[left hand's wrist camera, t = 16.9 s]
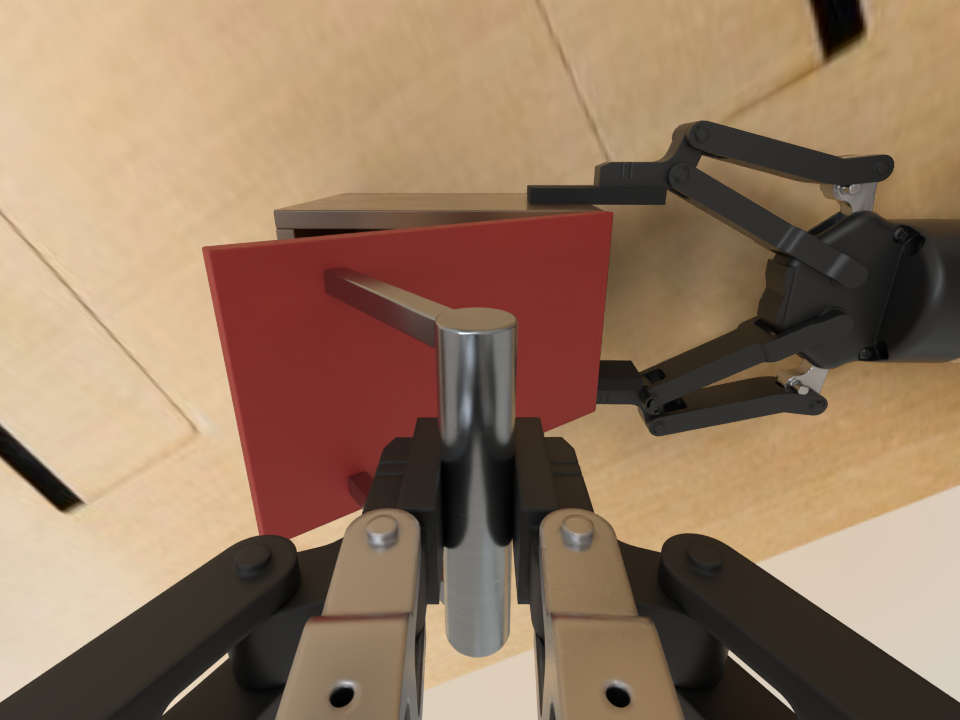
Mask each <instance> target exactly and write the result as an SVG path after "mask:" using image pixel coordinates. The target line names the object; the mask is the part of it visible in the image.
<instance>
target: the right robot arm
mask: <svg viewBox="0 0 960 720" xmlns="http://www.w3.org/2000/svg"><path fill="white" fill-rule="evenodd" d="M702 155H703V156H706V157H710V158H714V159H718V160H721V161H725V162H729V163H732V164H736V165H740V166H743V167H747V168H751V169H755V170H758V171H762V172H766V173H769V174H773V175H777V176H781V177H784V178H788V179H792V180H795V181H800V182H806V183H818V184H821V186H820V190H821V191H822V193H823V195H824V196H825V197H826V198H828V199H832V200H836V201H837V202H838V203H839V204H840V207H841V211H840V212H838V213H836V214H834V215H833V216H831V217H829V218H828V219H826V220H825V221H823V222H821V223H820V224H818V225H817V226H815V227H813V228H812V229H810V230H809V231H807V232H806V231H804V230H802V229H799V228H797V227H795V226H793V225H791V224H789V223H787V222H786V221H784V220H782V219H781V218H779V217H777V216H776V215H774V214H772V213H771V212H769V211H767V210H766V209H764V208H762V207H761V206H759V205H757V204H756V203H754V202H752V201H751V200H749V199H747V198H745V197H744V196H742V195H740V194H739V193H737V192H735V191H734V190H732V189H730V188H729V187H727V186H725V185H724V184H722V183H720V182H719V181H717V180H715V179H714V178H712V177H710V176H709V175H707V174H705V173H704V172H702V171H700V170H698V169H697V168H696V166H697V164H698V162H699V160H700V158H701V156H702ZM893 169H894V161H893V159H892V157H890V156H888V155H845V156H833V155H829V154H826V153H822V152H818V151H815V150H811V149H808V148H804V147H800V146H797V145H793V144H789V143H786V142H782V141H778V140H775V139H771V138H768V137H764V136H760V135H757V134H753V133H749V132H746V131H742V130H738V129H735V128H731V127H727V126H724V125H720V124H717V123H713V122H709V121H697V122H692V123H686V124H682V125H680V126H678V127H677V128H676V129H675V131H674V132H673V136H672V143H671V145H670V147H669V149H668V151H667V153H666V155H665V156H664V157H663V158H661V159H660V160H658V161H656V162H604V163H602V164H600V165H597V166H595V175H594V185H527V200H528V202H529V203H530V204H591V205H665V200H666V192H667V190H668V191H670V192H672V193H673V194H675V195H677V196H679V197H680V198H682V199H684V200H686V201H687V202H689V203H691V204H692V205H694V206H696V207H698V208H699V209H701V210H703V211H704V212H706V213H708V214H710V215H711V216H713V217H715V218H716V219H718V220H720V221H722V222H723V223H725V224H727V225H728V226H730V227H732V228H734V229H735V230H737V231H739V232H740V233H742V234H744V235H746V236H747V237H749V238H751V239H752V240H754V241H755V242H756V243H757V244H759V245H761V246H763V247H764V248H766V249H768V250H769V251H771V252H773V253H775V254H776V255H775V256H774V258H773V259H768V263H767V268H766V273H765V275H766V289H765V291H764V293H763V295H762V297H761V299H760V302H759V307H758V312H757V314H758V316H756V317H754V318H752V319H749V320H747V321H745V322H743V323H741V324H740V325H739V326H738V328H737V329H736V330H734V331H732V332H730V333H727V334H725V335H723V336H721V337H718V338H716V339H714V340H712V341H709V342H707V343H705V344H702V345H700V346H698V347H696V348H693V349H691V350H689V351H687V352H684V353H682V354H680V355H678V356H675V357H673V358H671V359H668V360H666V361H664V362H662V363H659V364H657V365H655V366H653V367H650V368H648V369H646V370H644V371H641V372H638V370H637V369H636V367H635V366H634V364H633V363H632V361H624V360H600V365H599V376H598V387H597V398H596V404H632V405H636V406H638V411H639V414H640V415H641V417H642V419H643V421H644V423H645V424H646V426H647V428H648V430H649V431H650V433H651V434H652V435H654V436H663V435H669V434H674V433H679V432H684V431H689V430H694V429H700V428H705V427H710V426H715V425H720V424H725V423H730V422H736V421H741V420H746V419H751V418H756V417H761V416H767V415H772V414H777V413H782V412H786V413H795V414H805V415H819V414H821V413H823V412H824V411H825V410H826V408H827V405H828V402H827V400H826V399H825V398H824V397H823V396H821V395H820V391H821V388H822V386H823V383H824V381H825V378H826V376H827V373H828V370H829V369H833V368H837V367H839V366H841V365H843V364H846V363H849V362H853V361H867V362H904V363H941V362H953V363H960V220H955V219H885V218H883V217H881V216H880V215H878V214H877V213H875V212H872V210H873V204H874V198H875V192H876V186H877V182H880V181H883V180H885V179H886V178H888V177H889V176H890V174H891V173H892V171H893ZM771 334H772V335H771ZM793 354H797V355H799V356H800V357H801V358H802V359H803V362H802V363H801V365H800V366H798V367H797V368H795V369H790V370H786V371H785V370H780V371H778V372H777V377H773V376H766V377H756V378H751V379H746V380H741V381H736V382H731V383H726V384H721V385H716V386H711V387H706V388H703V387H705V386H708V385H710V384H712V383H715V382H717V381H719V380H722V379H724V378H726V377H729V376H731V375H733V374H736V373H738V372H741V371H743V370H745V369H748V368H750V367H752V366H755V365H757V364H759V363H762V362H776V361H779V360H782V359H784V358H786V357H789V356H791V355H793ZM700 388H701V389H700Z"/></svg>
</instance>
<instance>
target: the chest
mask: <svg viewBox="0 0 960 720" xmlns="http://www.w3.org/2000/svg"><path fill="white" fill-rule="evenodd" d="M592 211H603V210H601V209H599V208H597V207H595V206H593V205H591V204H530V203H529V202H528V200H527V194H340V195H336V196H332V197H328V198H323V199H319V200H315V201H311V202H307V203H302V204H298V205H294V206H290V207H286V208H281V209H277V210H274V217H275V224H276V228H277V229H276V232H277V239H278V240H283V239H294V238H305V237H316V236H327V235H338V234H349V233H360V232H371V231H382V230H393V229H404V228H415V227H426V226H437V225H448V224H459V223H470V222H481V221H492V220H503V219H514V218H526V217H537V216H548V215H559V214H570V213H581V212H592Z"/></svg>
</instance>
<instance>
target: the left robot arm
mask: <svg viewBox="0 0 960 720" xmlns="http://www.w3.org/2000/svg"><path fill="white" fill-rule="evenodd" d="M512 539H513V552H514V564H515V576H516V588H517V600H518V604H530V610H531V620H532V624H533V627H534V653H535V672H536V690H537V709H538V720H960V703H959V702H958V701H957V700H955V699H954V698H952V697H951V696H949V695H948V694H946V693H945V692H943V691H942V690H940V689H939V688H937V687H936V686H934V685H933V684H931V683H930V682H929V681H927V680H926V679H924V678H923V677H921V676H920V675H918V674H917V673H915V672H914V671H912V670H911V669H909V668H908V667H906V666H905V665H903V664H902V663H900V662H899V661H898V660H896V659H895V658H893V657H892V656H890V655H889V654H887V653H886V652H884V651H883V650H881V649H880V648H878V647H877V646H875V645H874V644H872V643H871V642H870V641H868V640H867V639H865V638H864V637H862V636H861V635H859V634H858V633H856V632H855V631H853V630H852V629H850V628H849V627H847V626H846V625H844V624H843V623H841V622H840V621H839V620H837V619H836V618H834V617H833V616H831V615H830V614H828V613H827V612H825V611H824V610H822V609H821V608H819V607H818V606H816V605H815V604H813V603H812V602H810V601H809V600H808V599H806V598H805V597H803V596H802V595H800V594H799V593H797V592H796V591H794V590H793V589H791V588H790V587H788V586H787V585H785V584H784V583H782V582H781V581H779V580H778V579H777V578H775V577H774V576H772V575H771V574H769V573H768V572H766V571H765V570H763V569H762V568H760V567H759V566H757V565H756V564H754V563H753V562H751V561H750V560H749V559H747V558H746V557H744V556H743V555H741V554H740V553H738V552H737V551H735V550H734V549H732V548H731V547H729V546H728V545H726V544H724V543H723V542H721V541H719V540H716V539H714V538H711V537H708V536H705V535H700V534H691V533H686V534H679V535H675V536H672V537H670V538H669V539H667V540H666V542H665V543H664V544H663V546H662V551H661V553H660V552H656V551H652V550H648V549H644V548H639V547H635V546H632V545H629V544H626V543H623V542H621V541H619V540H617V538H616V534H615V532H614V529H613V528H612V526H611V525H610V524H609V523H608V522H607V521H606V520H605V519H604V518H602V517H601V516H599V515H597V514H595V513H594V510H593V507H592V504H591V501H590V498H589V494H588V491H587V488H586V485H585V482H584V479H583V476H582V472H581V469H580V466H579V465H578V460H577V456H576V453H575V450H574V448H573V447H572V446H571V445H570V444H569V443H567V442H566V441H565V440H564V439H563V438H562V437H544V433H543V428H542V424H541V420H540V417H515V454H514V492H513V529H512ZM443 553H444V527H443V497H442V467H441V458H440V456H439V439H438V417H418V418H417V421H416V425H415V430H414V434H413V437H395V438H394V439H393V440H392V441H391V442H390V443H389V444H388V445H387V446H386V447H385V448H383V451H382V454H381V457H380V460H379V465H378V466H377V469H376V472H375V476H374V479H373V482H372V485H371V488H370V491H369V494H368V497H367V500H366V503H365V506H364V509H363V512H362V515H361V516H359V517H358V518H356V519H355V520H354V521H353V522H352V523H351V524H350V525H349V526H348V528H347V529H346V531H345V534H344V537H343V538H341V539H339V540H337V541H335V542H333V543H331V544H328V545H325V546H321V547H318V548H313V549H309V550H305V551H301V552H297V550H296V547H295V545H294V544H293V542H292V541H290V540H289V539H287V538H285V537H283V536H279V535H260V536H255V537H251V538H248V539H245V540H242V541H240V542H238V543H236V544H234V545H233V546H231V547H229V548H228V549H226V550H225V551H223V552H222V553H220V554H219V555H217V556H216V557H214V558H213V559H211V560H210V561H209V562H207V563H206V564H204V565H203V566H201V567H200V568H198V569H197V570H195V571H194V572H192V573H191V574H189V575H188V576H186V577H185V578H183V579H182V580H180V581H179V582H178V583H176V584H175V585H173V586H172V587H170V588H169V589H167V590H166V591H164V592H163V593H161V594H160V595H158V596H157V597H155V598H154V599H152V600H151V601H149V602H148V603H147V604H145V605H144V606H142V607H141V608H139V609H138V610H136V611H135V612H133V613H132V614H130V615H129V616H127V617H126V618H124V619H123V620H121V621H120V622H119V623H117V624H116V625H114V626H113V627H111V628H110V629H108V630H107V631H105V632H104V633H102V634H101V635H99V636H98V637H96V638H95V639H93V640H92V641H90V642H89V643H88V644H86V645H85V646H83V647H82V648H80V649H79V650H77V651H76V652H74V653H73V654H71V655H70V656H68V657H67V658H65V659H64V660H62V661H61V662H59V663H58V664H57V665H55V666H54V667H52V668H51V669H49V670H48V671H46V672H45V673H43V674H42V675H40V676H39V677H37V678H36V679H34V680H33V681H31V682H30V683H29V684H27V685H26V686H24V687H23V688H21V689H20V690H18V691H17V692H15V693H14V694H12V695H11V696H9V697H8V698H6V699H5V700H3V701H2V702H0V720H422V708H423V690H424V671H425V653H426V625H425V615H426V607H427V604H439V598H440V587H441V576H442V565H443ZM729 650H730V651H731V652H733V653H734V654H735V655H736V656H737V657H738V658H740V659H741V660H742V661H743V662H744V663H745V664H747V665H748V666H749V667H750V668H751V669H752V670H754V671H755V672H756V673H757V674H758V675H759V676H761V677H762V678H763V679H764V680H765V681H766V682H768V683H769V684H770V685H771V686H772V687H773V688H775V689H776V690H777V691H778V692H779V693H780V694H781V695H782V696H783V697H784V698H785V699H786V700H787V701H788V703H789V704H790V705H791V707H792V708H793V710H794V712H795V713H794V712H793V711H792V710H790V709H789V708H788V707H787V706H786V705H785V704H784V703H782V702H781V701H780V700H779V699H778V698H777V697H775V696H774V695H773V694H772V693H771V692H770V691H769V690H767V689H766V688H765V687H764V686H763V685H762V684H760V683H759V682H758V681H757V680H756V679H755V678H754V677H752V676H751V675H750V674H749V673H748V672H747V671H745V670H744V669H743V668H742V667H741V666H740V665H739V664H737V663H736V662H735V661H734V660H733V659H732V658H731V657H729V656H728V651H729ZM227 652H228V655H229V658H228V659H227V660H226V661H225V662H224V663H223V664H221V665H220V666H219V667H218V668H217V669H216V670H214V671H213V672H212V673H211V674H210V675H209V676H208V677H206V678H205V679H204V680H203V681H202V682H201V683H200V684H198V685H197V686H196V687H195V688H194V689H193V690H191V691H190V692H189V693H188V694H187V695H186V696H185V697H183V698H182V699H181V700H180V701H179V702H178V703H176V704H175V705H174V706H173V707H172V708H171V709H170V710H168V711H167V712H166V713H165V714H164V715H163V713H164V711H165V710H166V708H167V707H168V705H169V704H170V703H171V702H172V700H173V699H174V698H175V697H176V696H177V695H178V694H180V693H181V692H182V691H183V690H184V689H185V688H187V687H188V686H189V685H190V684H191V683H192V682H194V681H195V680H196V679H197V678H198V677H199V676H201V675H202V674H203V673H204V672H205V671H206V670H208V669H209V668H210V667H211V666H212V665H213V664H215V663H216V662H217V661H218V660H219V659H220V658H222V657H223V656H224V655H225V654H226V653H227ZM162 715H163V716H162Z"/></svg>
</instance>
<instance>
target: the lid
mask: <svg viewBox="0 0 960 720" xmlns="http://www.w3.org/2000/svg"><path fill="white" fill-rule="evenodd" d="M612 222H613V212H605V211H592V212H581V213H570V214H559V215H548V216H537V217H526V218H514V219H503V220H492V221H481V222H470V223H459V224H448V225H437V226H426V227H415V228H404V229H393V230H382V231H371V232H360V233H349V234H338V235H327V236H316V237H305V238H294V239H283V240H272V241H261V242H250V243H239V244H228V245H217V246H206V247H202V251H203V256H204V261H205V266H206V271H207V276H208V281H209V286H210V291H211V296H212V301H213V306H214V311H215V316H216V321H217V326H218V331H219V336H220V341H221V346H222V351H223V356H224V361H225V366H226V371H227V376H228V381H229V386H230V391H231V396H232V401H233V406H234V411H235V416H236V421H237V426H238V431H239V436H240V441H241V446H242V451H243V456H244V461H245V466H246V471H247V476H248V481H249V486H250V491H251V496H252V501H253V506H254V511H255V516H256V521H257V526H258V531H259V535H279V536H283V537H285V538H287V539H291V538H293V537H296V536H298V535H301V534H303V533H305V532H308V531H310V530H313V529H315V528H317V527H320V526H322V525H324V524H327V523H329V522H332V521H334V520H336V519H339V518H341V517H344V516H346V515H348V514H351V513H353V512H355V511H358V510H360V509H364V506H365V503H366V500H367V497H368V494H369V491H370V488H371V485H372V482H373V479H374V476H375V472H376V469H377V466H378V465H379V460H380V457H381V454H382V451H383V448H385V447H386V446H387V445H388V444H389V443H390V442H391V441H392V440H393V439H394V438H395V437H413V434H414V430H415V425H416V421H417V418H418V417H438V439H439V456H440V458H441V467H442V497H443V527H444V553H443V565H442V576H441V587H440V598H439V600H440V601H441V602H442V603H443V604H444V605H445V630H446V636H447V639H448V641H449V642H450V644H451V645H452V646H453V648H454V649H456V650H457V651H458V652H460V653H461V654H464V655H466V656H470V657H486V656H489V655H492V654H494V653H495V652H497V651H498V650H500V649H501V648H502V647H503V645H504V644H505V643H506V641H507V639H508V637H509V633H510V605H511V567H512V529H513V492H514V454H515V417H540V420H541V424H542V428H543V433H544V432H547V431H549V430H551V429H554V428H556V427H558V426H561V425H563V424H566V423H568V422H570V421H573V420H575V419H578V418H580V417H582V416H585V415H587V414H590V413H592V412H594V411H595V409H596V398H597V387H598V376H599V365H600V354H601V343H602V332H603V321H604V310H605V299H606V288H607V277H608V266H609V255H610V244H611V233H612Z"/></svg>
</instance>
